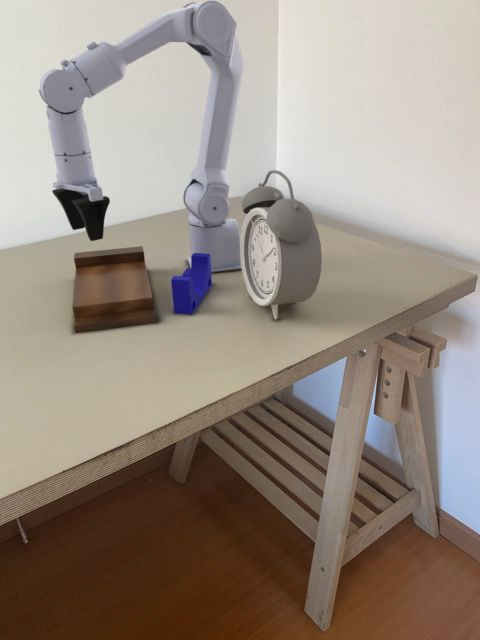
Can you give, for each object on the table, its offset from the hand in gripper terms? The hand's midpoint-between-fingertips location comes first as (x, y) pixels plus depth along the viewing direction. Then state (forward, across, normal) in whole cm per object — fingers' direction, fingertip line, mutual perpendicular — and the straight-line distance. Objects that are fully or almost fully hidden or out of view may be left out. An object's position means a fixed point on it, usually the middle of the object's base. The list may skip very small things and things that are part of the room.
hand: (87, 233), depth 97 cm
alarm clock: (+10, +28, +20) cm, 36 cm away
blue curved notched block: (+10, +16, +10) cm, 21 cm away
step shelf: (+10, +7, 0) cm, 12 cm away
